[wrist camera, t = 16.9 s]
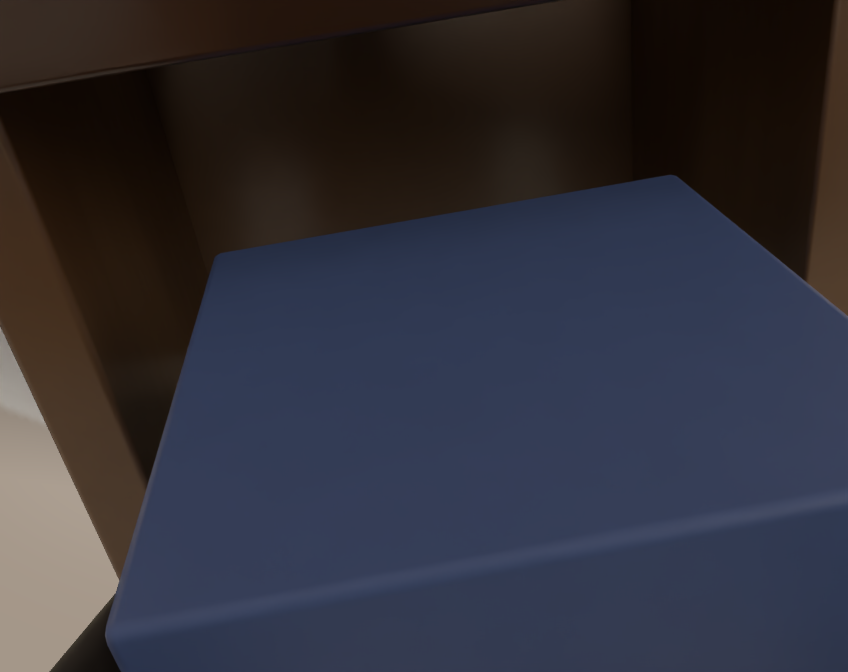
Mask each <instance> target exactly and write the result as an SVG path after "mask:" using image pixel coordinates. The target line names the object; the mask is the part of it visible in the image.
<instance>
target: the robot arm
mask: <svg viewBox="0 0 848 672" xmlns="http://www.w3.org/2000/svg"><path fill="white" fill-rule="evenodd" d="M114 598H115V594H114V596H113V597H112V598H111V599H110V601H109V602H108V603H107V604H106V605H105V606H104V608H103V609H102V610H101V611H100V612H99V614H98V615H97V616H96V617H95V618H94V619H93V621H92V622H91V623H90V624H89V625H88V627H87V628H86V629H85V630H84V631H83V633H82V634H81V635H80V636H79V637H78V639H77V640H76V641H75V642H74V643H73V644H72V646H71V647H70V648H69V649H68V650H67V652H66V653H65V654H64V655H63V656H62V658H61V659H60V660H59V661H58V662H57V664H56V665H55V666H54V667H53V668H52V669H51V671H50V672H121V671H120V669H119V667H118V665H117V663H116V661H115V659H114V657H113V655H112V653H111V651H110V649H109V647H108V645H107V642H106V637H105V632H106V625H107V621H108V618H109V615H110V611H111V608H112V604H113V601H114Z"/></svg>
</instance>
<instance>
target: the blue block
mask: <svg viewBox="0 0 848 672" xmlns="http://www.w3.org/2000/svg"><path fill="white" fill-rule="evenodd" d="M105 637H106V642H107V645H108V647H109V649H110V651H111V653H112V655H113V657H114V659H115V661H116V663H117V665H118V667H119V669H120V671H121V672H848V316H847V315H846V314H845V313H844V312H842V311H841V310H840V309H839V308H837V307H836V306H835V305H834V304H832V303H831V302H830V301H829V300H828V299H826V298H825V297H824V296H823V295H821V294H820V293H819V292H818V291H817V290H815V289H814V288H813V287H812V286H810V285H809V284H808V283H807V282H806V281H804V280H803V279H802V278H801V277H799V276H798V275H797V274H796V273H795V272H793V271H792V270H791V269H790V268H788V267H787V266H786V265H785V264H784V263H782V262H781V261H780V260H779V259H777V258H776V257H775V256H774V255H773V254H771V253H770V252H769V251H768V250H766V249H765V248H764V247H763V246H761V245H760V244H759V243H758V242H757V241H755V240H754V239H753V238H752V237H750V236H749V235H748V234H747V233H746V232H744V231H743V230H742V229H741V228H739V227H738V226H737V225H736V224H735V223H733V222H732V221H731V220H730V219H728V218H727V217H726V216H725V215H724V214H722V213H721V212H720V211H719V210H717V209H716V208H715V207H714V206H713V205H711V204H710V203H709V202H708V201H706V200H705V199H704V198H703V197H701V196H700V195H699V194H698V193H697V192H695V191H694V190H693V189H692V188H690V187H689V186H688V185H687V184H686V183H684V182H683V181H682V180H681V179H679V178H678V177H677V176H674V175H666V176H661V177H655V178H649V179H643V180H638V181H632V182H626V183H620V184H615V185H609V186H603V187H597V188H592V189H586V190H580V191H575V192H569V193H563V194H557V195H552V196H546V197H540V198H534V199H529V200H523V201H517V202H511V203H506V204H500V205H494V206H489V207H483V208H477V209H471V210H466V211H460V212H454V213H448V214H443V215H437V216H431V217H425V218H420V219H414V220H408V221H403V222H397V223H391V224H385V225H380V226H374V227H368V228H362V229H357V230H351V231H345V232H339V233H334V234H328V235H322V236H317V237H311V238H305V239H299V240H294V241H288V242H282V243H276V244H271V245H265V246H259V247H253V248H248V249H242V250H236V251H231V252H225V253H220V254H218V255H217V256H215V258H214V261H213V265H212V268H211V271H210V275H209V278H208V282H207V285H206V288H205V292H204V295H203V299H202V302H201V305H200V309H199V312H198V316H197V319H196V322H195V326H194V329H193V333H192V336H191V339H190V343H189V346H188V349H187V353H186V356H185V360H184V363H183V366H182V370H181V373H180V377H179V380H178V383H177V387H176V390H175V394H174V397H173V400H172V404H171V407H170V411H169V414H168V417H167V421H166V424H165V428H164V431H163V434H162V438H161V441H160V445H159V448H158V451H157V455H156V458H155V462H154V465H153V468H152V472H151V475H150V479H149V482H148V485H147V489H146V492H145V496H144V499H143V502H142V506H141V509H140V513H139V516H138V519H137V523H136V526H135V530H134V533H133V536H132V540H131V543H130V547H129V550H128V553H127V557H126V560H125V564H124V567H123V570H122V574H121V577H120V581H119V584H118V587H117V591H116V594H115V598H114V601H113V604H112V608H111V611H110V615H109V618H108V621H107V625H106V632H105Z"/></svg>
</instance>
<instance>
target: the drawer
mask: <svg viewBox="0 0 848 672" xmlns="http://www.w3.org/2000/svg"><path fill="white" fill-rule="evenodd" d="M666 175H674V176H677V177H678V178H679V179H681V180H682V181H683V182H684V183H686V184H687V185H688V186H689V187H690V188H692V189H693V190H694V191H695V192H697V193H698V194H699V195H700V196H701V197H703V198H704V199H705V200H706V201H708V202H709V203H710V204H711V205H713V206H714V207H715V208H716V209H717V210H719V211H720V212H721V213H722V214H724V215H725V216H726V217H727V218H728V219H730V220H731V221H732V222H733V223H735V224H736V225H737V226H738V227H739V228H741V229H742V230H743V231H744V232H746V233H747V234H748V235H749V236H750V237H752V238H753V239H754V240H755V241H757V242H758V243H759V244H760V245H761V246H763V247H764V248H765V249H766V250H768V251H769V252H770V253H771V254H773V255H774V256H775V257H776V258H777V259H779V260H780V261H781V262H782V263H784V264H785V265H786V266H787V267H788V268H790V269H791V270H792V271H793V272H795V273H796V274H797V275H798V276H799V277H801V278H802V279H803V280H804V281H806V282H807V283H808V284H809V285H810V286H812V287H813V288H814V289H815V290H817V291H818V292H819V293H820V294H821V295H823V296H824V297H825V298H826V299H828V300H829V301H830V302H831V303H832V304H834V305H835V306H836V307H837V308H839V309H840V310H841V311H842V312H844V313H845V314H846V315H847V316H848V0H561V1H555V2H549V3H543V4H537V5H531V6H525V7H519V8H513V9H507V10H501V11H495V12H489V13H483V14H477V15H471V16H465V17H459V18H453V19H447V20H441V21H435V22H429V23H423V24H417V25H411V26H405V27H399V28H393V29H387V30H381V31H375V32H369V33H363V34H357V35H351V36H345V37H339V38H333V39H327V40H321V41H315V42H309V43H302V44H296V45H290V46H284V47H278V48H272V49H266V50H260V51H254V52H248V53H242V54H236V55H230V56H224V57H218V58H212V59H206V60H200V61H194V62H188V63H182V64H176V65H170V66H164V67H158V68H152V69H146V70H140V71H134V72H128V73H122V74H116V75H110V76H104V77H98V78H92V79H86V80H80V81H74V82H68V83H62V84H56V85H50V86H44V87H38V88H32V89H26V90H20V91H14V92H8V93H2V94H0V327H1V329H2V331H3V333H4V335H5V337H6V339H7V342H8V344H9V346H10V348H11V350H12V352H13V354H14V356H15V359H16V361H17V363H18V365H19V367H20V369H21V371H22V374H23V376H24V378H25V380H26V382H27V384H28V386H29V389H30V391H31V393H32V395H33V397H34V399H35V401H36V403H37V406H38V408H39V410H40V412H41V414H42V416H43V418H44V421H45V423H46V425H47V427H48V429H49V431H50V433H51V435H52V438H53V440H54V442H55V444H56V446H57V448H58V450H59V453H60V455H61V457H62V459H63V461H64V463H65V465H66V467H67V470H68V472H69V474H70V476H71V478H72V480H73V482H74V485H75V486H76V489H77V491H78V493H79V495H80V497H81V499H82V501H83V503H84V506H85V508H86V510H87V512H88V514H89V516H90V519H91V520H92V523H93V525H94V527H95V529H96V531H97V534H98V536H99V538H100V540H101V542H102V544H103V546H104V549H105V551H106V553H107V555H108V557H109V559H110V561H111V563H112V565H113V568H114V570H115V572H116V574H117V576H118V578H119V581H120V577H121V574H122V570H123V567H124V564H125V560H126V557H127V553H128V550H129V547H130V543H131V540H132V536H133V533H134V530H135V526H136V523H137V519H138V516H139V513H140V509H141V506H142V502H143V499H144V496H145V492H146V489H147V485H148V482H149V479H150V475H151V472H152V468H153V465H154V462H155V458H156V455H157V451H158V448H159V445H160V441H161V438H162V434H163V431H164V428H165V424H166V421H167V417H168V414H169V411H170V407H171V404H172V400H173V397H174V394H175V390H176V387H177V383H178V380H179V377H180V373H181V370H182V366H183V363H184V360H185V356H186V353H187V349H188V346H189V343H190V339H191V336H192V333H193V329H194V326H195V322H196V319H197V316H198V312H199V309H200V305H201V302H202V299H203V295H204V292H205V288H206V285H207V282H208V278H209V275H210V271H211V268H212V265H213V261H214V258H215V256H217V255H218V254H220V253H225V252H231V251H236V250H242V249H248V248H253V247H259V246H265V245H271V244H276V243H282V242H288V241H294V240H299V239H305V238H311V237H317V236H322V235H328V234H334V233H339V232H345V231H351V230H357V229H362V228H368V227H374V226H380V225H385V224H391V223H397V222H403V221H408V220H414V219H420V218H425V217H431V216H437V215H443V214H448V213H454V212H460V211H466V210H471V209H477V208H483V207H489V206H494V205H500V204H506V203H511V202H517V201H523V200H529V199H534V198H540V197H546V196H552V195H557V194H563V193H569V192H575V191H580V190H586V189H592V188H597V187H603V186H609V185H615V184H620V183H626V182H632V181H638V180H643V179H649V178H655V177H661V176H666Z"/></svg>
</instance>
